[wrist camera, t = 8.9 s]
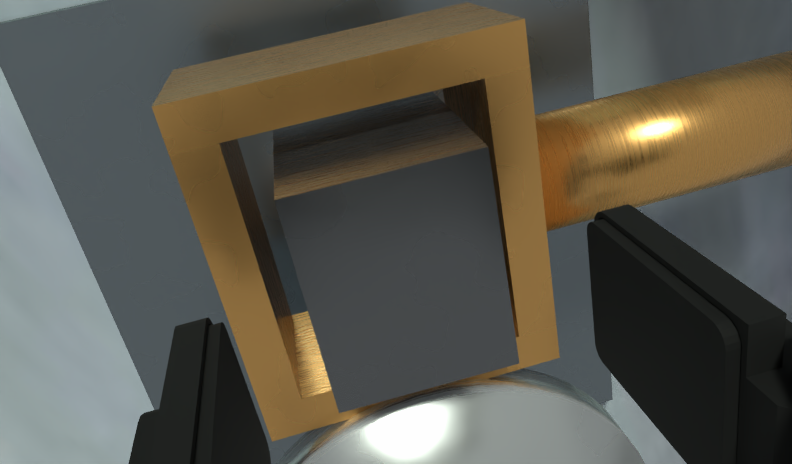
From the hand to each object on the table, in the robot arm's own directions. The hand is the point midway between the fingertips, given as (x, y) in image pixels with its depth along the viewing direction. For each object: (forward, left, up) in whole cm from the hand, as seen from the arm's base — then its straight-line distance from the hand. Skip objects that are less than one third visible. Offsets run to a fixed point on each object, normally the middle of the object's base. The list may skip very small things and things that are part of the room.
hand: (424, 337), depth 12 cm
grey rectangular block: (0, 0, -12) cm, 12 cm away
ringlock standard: (+5, +2, -13) cm, 14 cm away
